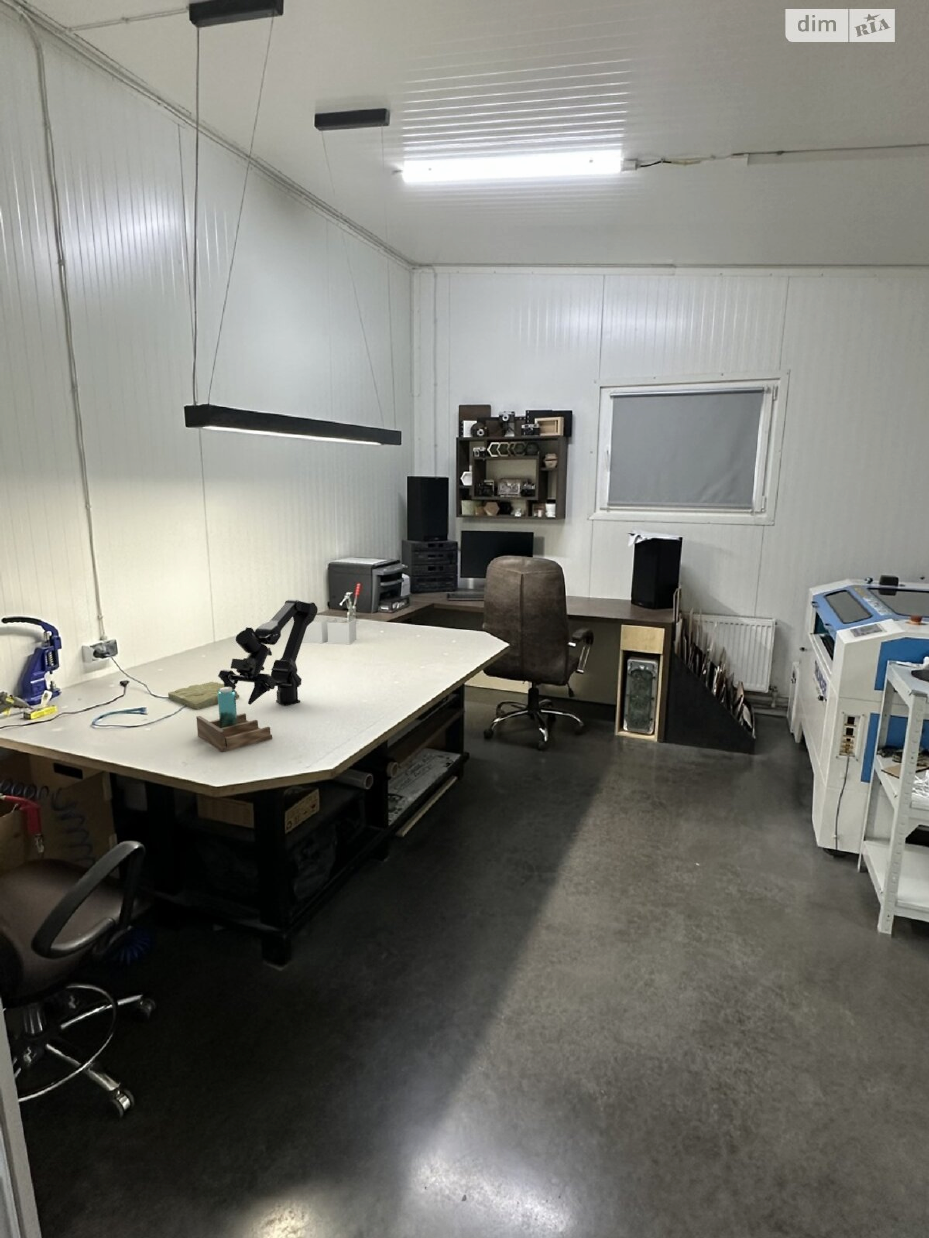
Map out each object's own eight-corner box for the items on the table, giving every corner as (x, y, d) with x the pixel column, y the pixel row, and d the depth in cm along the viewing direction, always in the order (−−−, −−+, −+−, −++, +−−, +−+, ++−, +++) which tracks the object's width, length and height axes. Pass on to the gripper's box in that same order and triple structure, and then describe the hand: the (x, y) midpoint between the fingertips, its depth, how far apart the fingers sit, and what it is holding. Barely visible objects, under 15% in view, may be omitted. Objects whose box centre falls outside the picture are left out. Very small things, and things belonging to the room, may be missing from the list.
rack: (246, 723, 221) (245, 705, 220) (272, 738, 208) (271, 719, 207) (197, 735, 210) (196, 716, 209) (221, 752, 197) (220, 732, 196)
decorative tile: (196, 711, 234) (195, 701, 234) (167, 699, 247) (166, 690, 246) (244, 698, 249) (243, 689, 248) (214, 688, 261) (214, 679, 261)
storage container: (301, 643, 334) (300, 621, 332) (309, 638, 345) (308, 617, 343) (349, 645, 330) (348, 623, 328) (356, 640, 341) (355, 618, 339)
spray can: (240, 726, 214) (237, 686, 212) (234, 732, 209) (231, 691, 207) (223, 726, 215) (220, 686, 212) (217, 732, 209) (214, 691, 207)
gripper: (219, 645, 219) (199, 687, 211) (268, 650, 213) (249, 693, 205) (236, 662, 228) (217, 703, 220) (283, 667, 222) (266, 709, 214)
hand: (236, 702), depth 215 cm, fingers open, 9 cm apart
